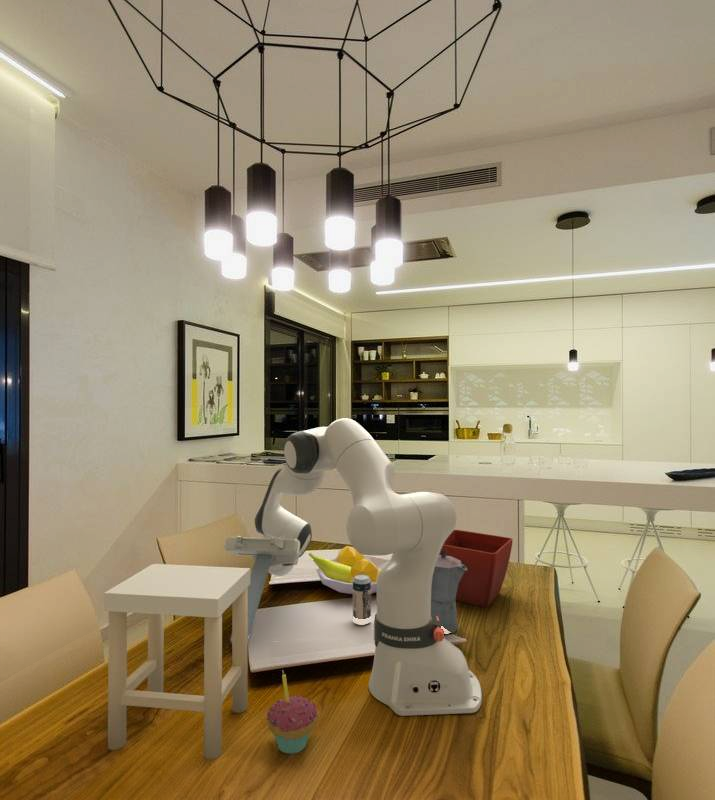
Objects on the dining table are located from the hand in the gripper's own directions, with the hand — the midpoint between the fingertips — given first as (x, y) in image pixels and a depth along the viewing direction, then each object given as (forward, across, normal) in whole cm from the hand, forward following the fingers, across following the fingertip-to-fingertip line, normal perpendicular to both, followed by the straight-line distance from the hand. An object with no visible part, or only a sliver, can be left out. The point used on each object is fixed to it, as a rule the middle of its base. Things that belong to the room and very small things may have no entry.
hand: (255, 539), depth 126 cm
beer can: (-16, +27, +17) cm, 36 cm away
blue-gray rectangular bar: (-6, 0, +14) cm, 15 cm away
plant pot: (-35, +58, +6) cm, 68 cm away
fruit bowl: (-38, +22, +4) cm, 44 cm away
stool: (+23, 0, +39) cm, 45 cm away
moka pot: (-16, +47, +17) cm, 53 cm away
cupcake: (+25, +21, +40) cm, 52 cm away
